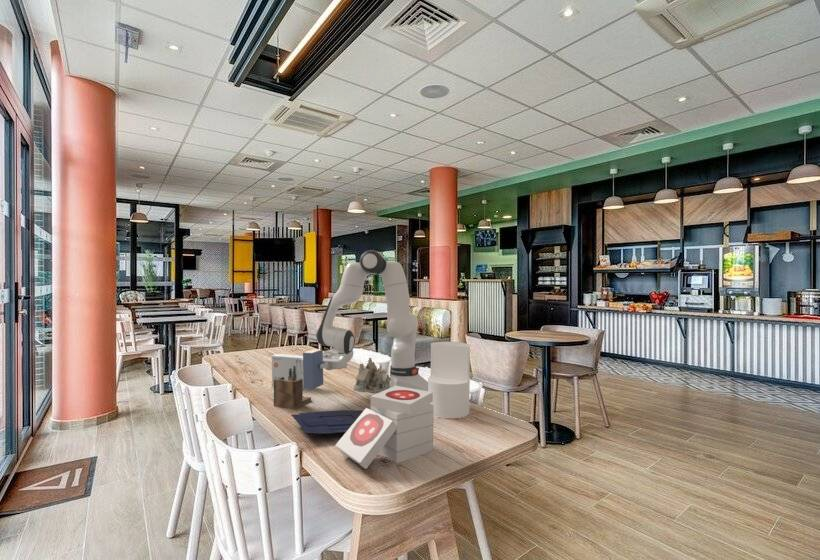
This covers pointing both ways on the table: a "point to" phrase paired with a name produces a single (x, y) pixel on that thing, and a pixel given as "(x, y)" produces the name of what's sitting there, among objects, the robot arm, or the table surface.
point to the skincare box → (287, 367)
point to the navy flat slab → (327, 421)
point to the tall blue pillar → (312, 369)
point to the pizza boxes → (391, 427)
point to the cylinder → (450, 379)
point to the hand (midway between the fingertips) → (313, 366)
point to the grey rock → (371, 379)
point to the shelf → (289, 393)
